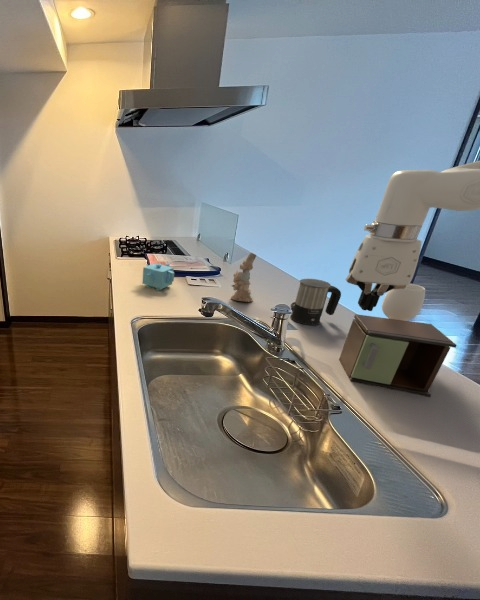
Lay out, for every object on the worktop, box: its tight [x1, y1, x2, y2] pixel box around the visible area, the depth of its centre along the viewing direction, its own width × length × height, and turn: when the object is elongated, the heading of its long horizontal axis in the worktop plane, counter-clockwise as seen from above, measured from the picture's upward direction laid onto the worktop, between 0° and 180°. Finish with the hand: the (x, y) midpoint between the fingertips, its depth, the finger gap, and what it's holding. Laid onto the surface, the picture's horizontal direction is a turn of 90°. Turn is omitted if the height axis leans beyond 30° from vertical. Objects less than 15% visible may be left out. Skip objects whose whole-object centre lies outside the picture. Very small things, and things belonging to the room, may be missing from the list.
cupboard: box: [338, 313, 457, 398], centre depth 84 cm, size 16×11×15 cm
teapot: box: [141, 262, 176, 291], centre depth 151 cm, size 16×18×11 cm
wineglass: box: [381, 282, 426, 321], centre depth 95 cm, size 9×9×21 cm
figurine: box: [230, 252, 257, 303], centre depth 133 cm, size 9×8×20 cm
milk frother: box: [289, 278, 342, 326], centre depth 119 cm, size 14×16×15 cm
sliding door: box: [351, 335, 409, 385], centre depth 80 cm, size 8×4×13 cm, turn 66°
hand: (365, 308), depth 76 cm, fingers closed
